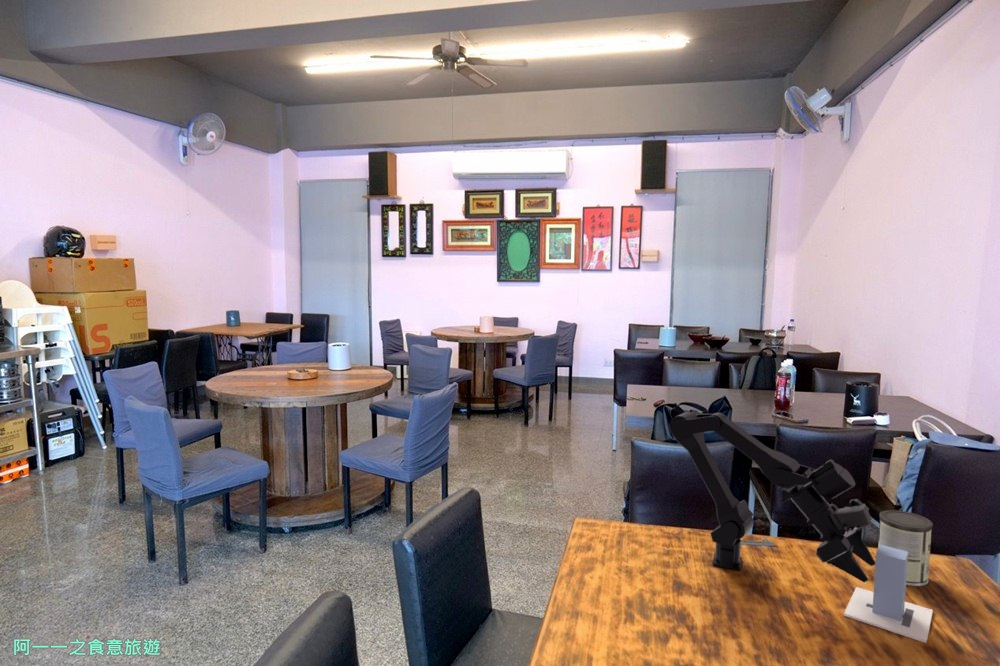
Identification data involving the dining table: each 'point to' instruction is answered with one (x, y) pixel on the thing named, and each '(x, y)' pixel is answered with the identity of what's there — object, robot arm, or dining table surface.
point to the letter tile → (910, 626)
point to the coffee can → (908, 541)
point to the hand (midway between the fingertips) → (869, 572)
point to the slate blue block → (890, 582)
